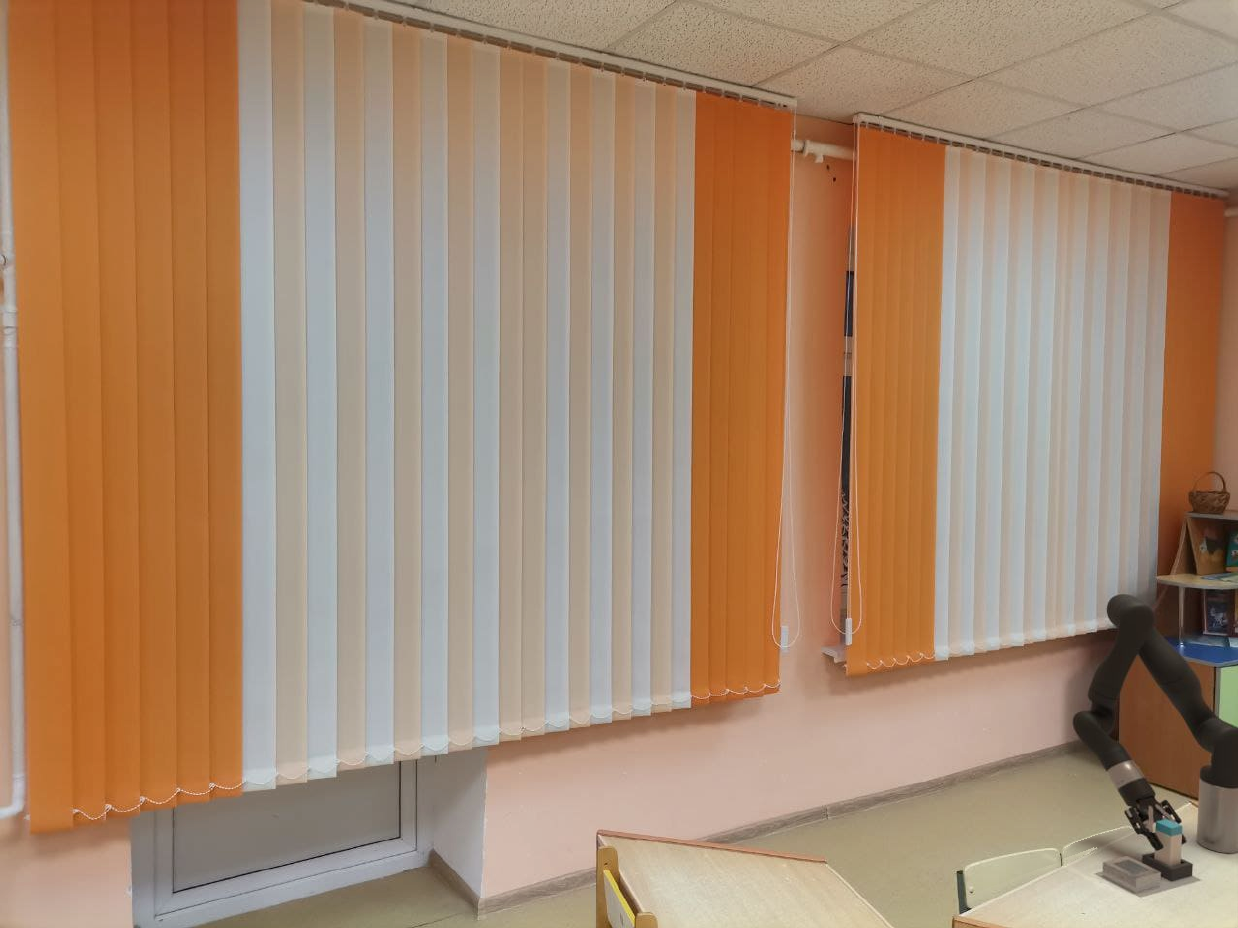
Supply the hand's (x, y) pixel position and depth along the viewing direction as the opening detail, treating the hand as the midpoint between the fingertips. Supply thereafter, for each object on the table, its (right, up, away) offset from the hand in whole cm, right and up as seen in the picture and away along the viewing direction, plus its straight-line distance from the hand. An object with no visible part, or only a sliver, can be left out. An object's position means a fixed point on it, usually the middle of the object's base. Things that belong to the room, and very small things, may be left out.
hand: (1172, 846), depth 217 cm
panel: (-7, -8, -2) cm, 10 cm away
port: (-12, -8, -4) cm, 15 cm away
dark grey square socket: (-1, -8, +1) cm, 8 cm away
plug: (-1, -7, +1) cm, 7 cm away
